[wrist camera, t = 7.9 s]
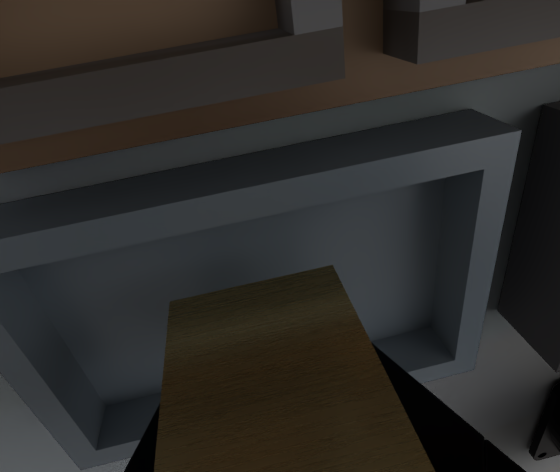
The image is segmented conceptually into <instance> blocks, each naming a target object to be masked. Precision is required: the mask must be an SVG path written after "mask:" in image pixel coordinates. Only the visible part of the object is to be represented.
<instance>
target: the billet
mask: <svg viewBox="0 0 560 472" xmlns="http://www.w3.org/2000/svg"><path fill="white" fill-rule="evenodd" d="M154 472H435V470H434V468H433V466H432V464H431V462H430V460H429V458H428V456H427V454H426V452H425V450H424V448H423V446H422V444H421V442H420V440H419V438H418V436H417V434H416V432H415V430H414V428H413V426H412V424H411V422H410V420H409V418H408V416H407V414H406V412H405V410H404V407H403V405H402V403H401V401H400V399H399V397H398V395H397V393H396V391H395V389H394V387H393V385H392V383H391V381H390V379H389V377H388V375H387V373H386V371H385V369H384V367H383V365H382V363H381V361H380V359H379V357H378V355H377V353H376V351H375V349H374V347H373V345H372V343H371V341H370V339H369V337H368V335H367V333H366V331H365V329H364V327H363V325H362V323H361V321H360V319H359V317H358V315H357V313H356V311H355V309H354V307H353V305H352V303H351V301H350V299H349V297H348V295H347V293H346V291H345V289H344V287H343V285H342V283H341V281H340V279H339V277H338V275H337V273H336V271H335V269H334V267H333V265H329V266H324V267H320V268H316V269H311V270H307V271H302V272H298V273H294V274H289V275H285V276H280V277H276V278H271V279H267V280H263V281H258V282H254V283H249V284H245V285H240V286H236V287H232V288H227V289H223V290H218V291H214V292H210V293H205V294H201V295H196V296H192V297H187V298H183V299H179V300H174V301H170V303H169V314H168V325H167V335H166V346H165V357H164V368H163V378H162V389H161V400H160V411H159V421H158V432H157V443H156V453H155V464H154Z"/></svg>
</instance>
